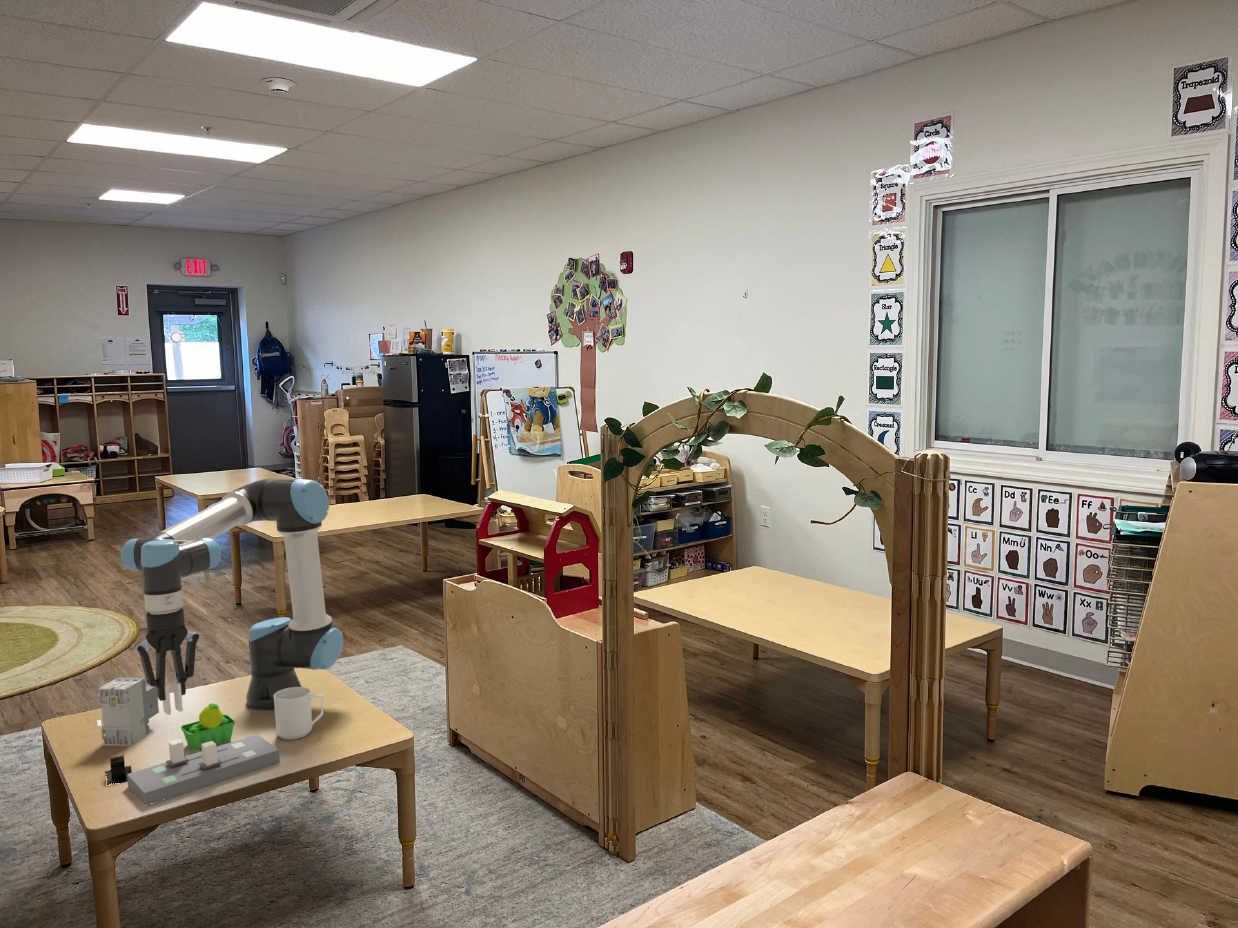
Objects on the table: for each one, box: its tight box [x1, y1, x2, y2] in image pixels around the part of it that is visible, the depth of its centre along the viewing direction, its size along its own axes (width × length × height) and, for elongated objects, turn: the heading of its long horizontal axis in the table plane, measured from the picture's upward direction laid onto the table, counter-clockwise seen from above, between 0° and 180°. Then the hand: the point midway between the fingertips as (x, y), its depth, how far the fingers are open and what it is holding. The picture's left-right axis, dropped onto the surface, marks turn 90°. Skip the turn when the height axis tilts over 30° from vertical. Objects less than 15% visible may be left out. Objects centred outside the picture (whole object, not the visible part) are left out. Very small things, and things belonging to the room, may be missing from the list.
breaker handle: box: [165, 738, 189, 767], centre depth 209 cm, size 4×3×5 cm
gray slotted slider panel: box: [127, 734, 281, 806], centre depth 211 cm, size 30×13×3 cm, turn 134°
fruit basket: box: [180, 702, 236, 751], centre depth 227 cm, size 11×9×11 cm
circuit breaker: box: [97, 677, 160, 747], centre depth 234 cm, size 8×14×15 cm, turn 174°
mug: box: [274, 686, 324, 741], centre depth 233 cm, size 12×9×11 cm
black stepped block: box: [104, 755, 132, 785], centre depth 211 cm, size 12×7×5 cm, turn 30°
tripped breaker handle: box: [199, 741, 222, 769], centre depth 208 cm, size 4×3×5 cm
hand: (173, 711), depth 202 cm, fingers open, 2 cm apart
